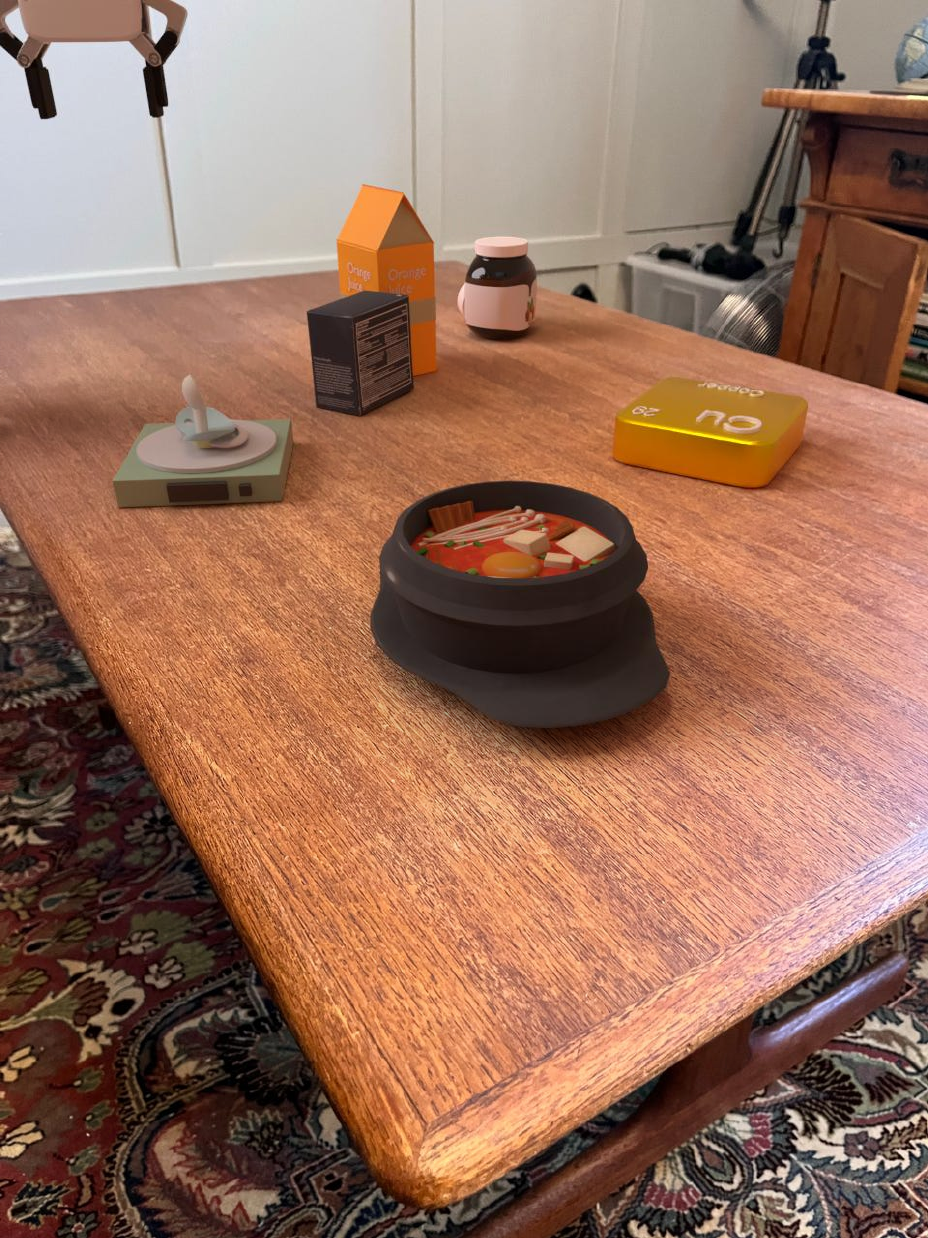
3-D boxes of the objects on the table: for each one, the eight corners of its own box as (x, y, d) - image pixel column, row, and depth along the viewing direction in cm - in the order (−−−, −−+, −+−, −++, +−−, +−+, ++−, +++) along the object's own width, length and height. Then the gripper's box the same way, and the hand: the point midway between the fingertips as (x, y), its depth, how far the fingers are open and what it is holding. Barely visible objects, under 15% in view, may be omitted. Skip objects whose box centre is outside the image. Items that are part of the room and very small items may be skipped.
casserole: (325, 582, 72) (315, 476, 68) (550, 538, 78) (554, 438, 74) (452, 790, 52) (449, 659, 48) (740, 708, 59) (761, 585, 54)
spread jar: (507, 345, 125) (508, 250, 119) (433, 334, 131) (430, 242, 125) (550, 324, 134) (553, 234, 128) (479, 314, 139) (479, 227, 133)
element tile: (806, 439, 96) (815, 391, 94) (763, 493, 85) (771, 441, 83) (661, 414, 103) (666, 369, 101) (604, 461, 92) (608, 411, 90)
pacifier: (238, 425, 93) (174, 432, 91) (232, 359, 90) (165, 365, 88) (257, 451, 87) (189, 459, 85) (251, 381, 84) (180, 389, 82)
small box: (369, 380, 114) (363, 287, 108) (416, 389, 111) (412, 294, 105) (312, 407, 106) (303, 308, 100) (361, 417, 103) (354, 315, 98)
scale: (116, 510, 83) (109, 477, 82) (149, 448, 96) (144, 418, 94) (282, 503, 84) (278, 471, 83) (293, 442, 97) (290, 413, 95)
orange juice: (382, 382, 113) (372, 195, 102) (344, 365, 119) (331, 186, 109) (438, 370, 117) (434, 188, 106) (398, 353, 123) (390, 180, 113)
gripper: (177, -113, 84) (206, 112, 93) (-31, -113, 83) (18, 115, 91) (161, -124, 77) (193, 119, 86) (-65, -124, 76) (-9, 122, 85)
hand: (103, 116), depth 89 cm, fingers open, 9 cm apart
